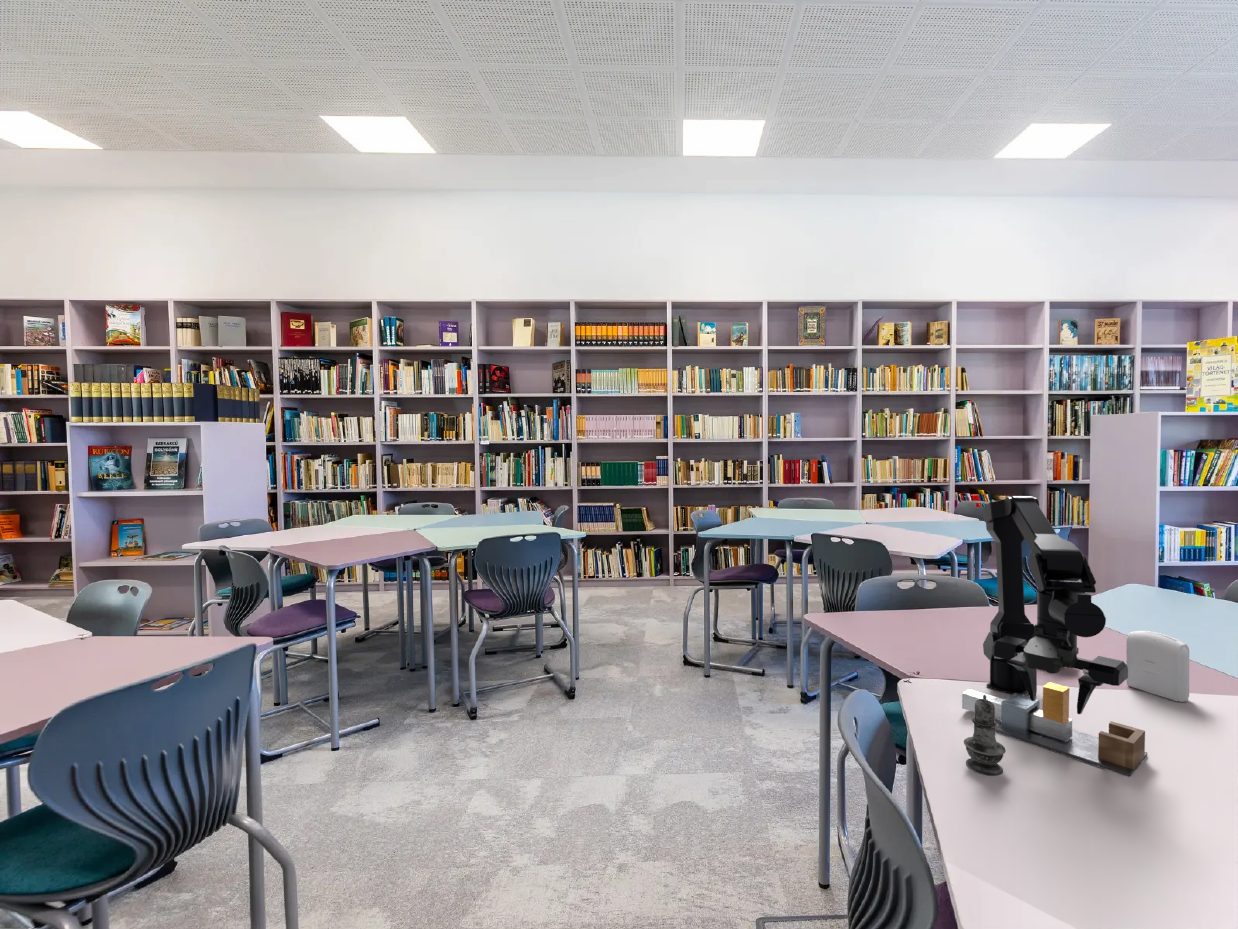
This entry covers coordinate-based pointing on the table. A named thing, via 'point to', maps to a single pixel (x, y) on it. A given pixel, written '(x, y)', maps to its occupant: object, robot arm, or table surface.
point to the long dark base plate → (1074, 747)
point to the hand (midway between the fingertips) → (1055, 707)
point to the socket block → (1122, 745)
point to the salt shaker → (984, 741)
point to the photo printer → (1158, 665)
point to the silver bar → (1036, 710)
